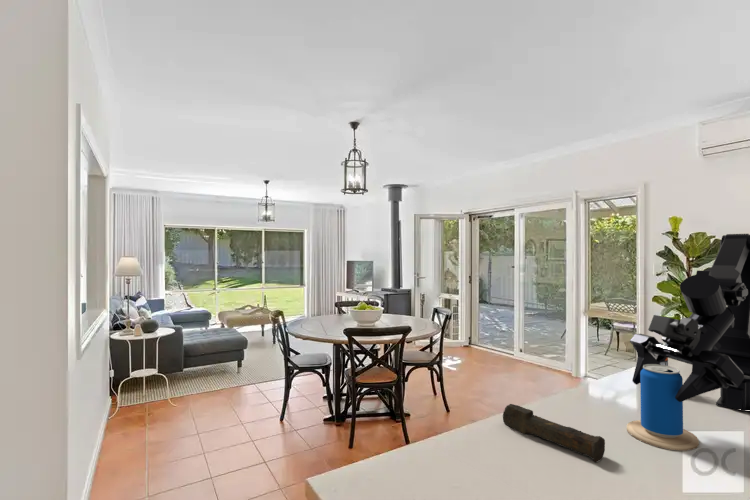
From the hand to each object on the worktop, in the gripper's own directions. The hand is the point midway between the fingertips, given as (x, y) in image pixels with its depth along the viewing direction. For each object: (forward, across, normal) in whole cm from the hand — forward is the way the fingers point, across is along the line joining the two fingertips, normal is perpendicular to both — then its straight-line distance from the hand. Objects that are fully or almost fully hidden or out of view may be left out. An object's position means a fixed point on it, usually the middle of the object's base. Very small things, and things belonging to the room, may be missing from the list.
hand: (654, 391), depth 75 cm
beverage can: (+5, 0, +7) cm, 8 cm away
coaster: (+5, 0, +7) cm, 9 cm away
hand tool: (+21, -3, -8) cm, 23 cm away
